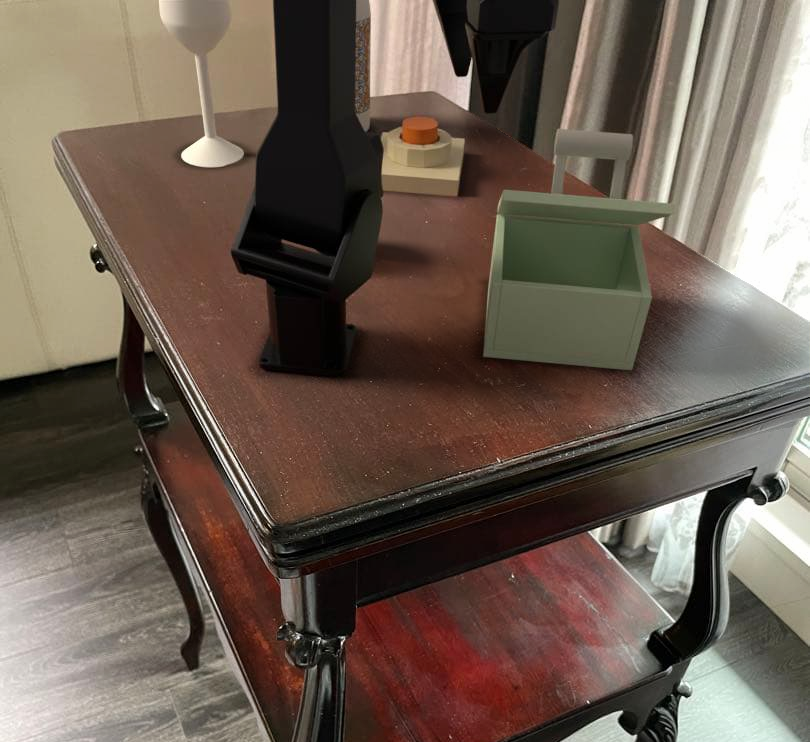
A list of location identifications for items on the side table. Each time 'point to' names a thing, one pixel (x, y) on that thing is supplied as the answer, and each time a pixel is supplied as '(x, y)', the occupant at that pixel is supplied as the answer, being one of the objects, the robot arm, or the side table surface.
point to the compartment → (566, 292)
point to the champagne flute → (202, 69)
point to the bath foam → (363, 62)
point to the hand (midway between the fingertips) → (475, 93)
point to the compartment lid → (584, 206)
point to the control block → (422, 164)
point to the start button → (419, 131)
